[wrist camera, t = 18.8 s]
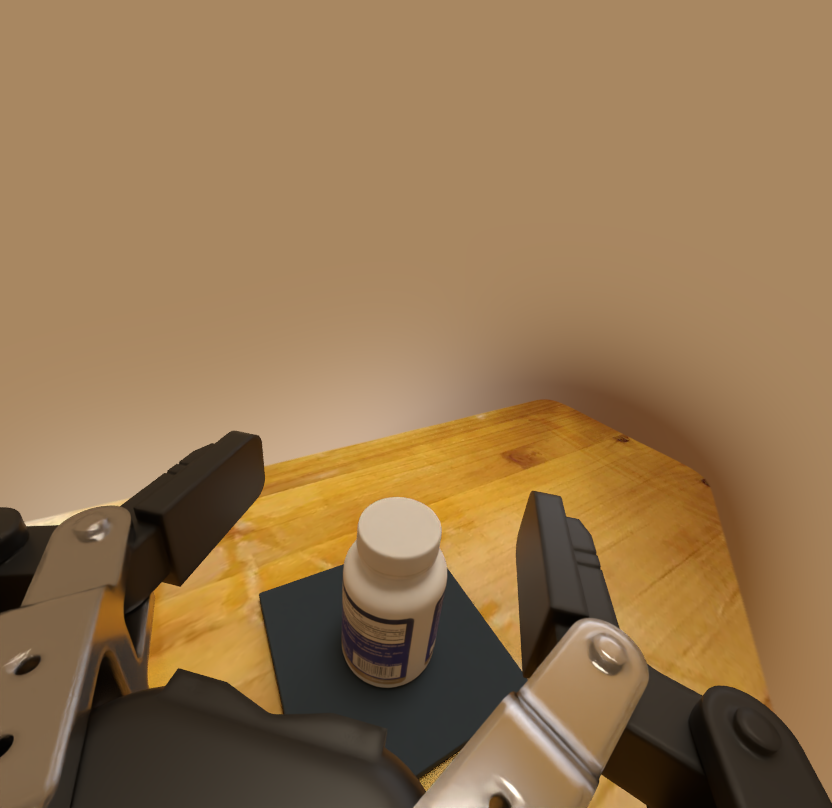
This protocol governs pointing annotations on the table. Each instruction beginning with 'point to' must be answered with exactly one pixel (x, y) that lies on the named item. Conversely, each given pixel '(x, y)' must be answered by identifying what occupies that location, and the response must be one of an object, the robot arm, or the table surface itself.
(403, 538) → the pill bottle
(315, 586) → the mat
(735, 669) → the table surface
